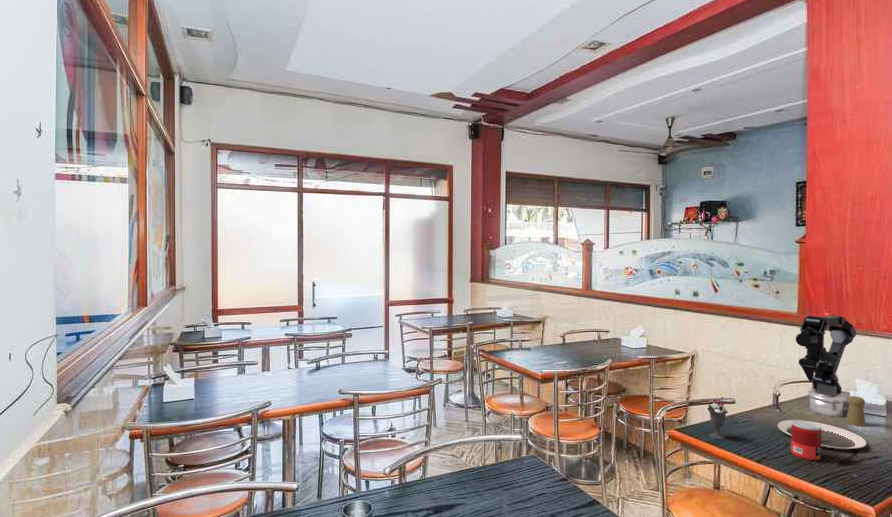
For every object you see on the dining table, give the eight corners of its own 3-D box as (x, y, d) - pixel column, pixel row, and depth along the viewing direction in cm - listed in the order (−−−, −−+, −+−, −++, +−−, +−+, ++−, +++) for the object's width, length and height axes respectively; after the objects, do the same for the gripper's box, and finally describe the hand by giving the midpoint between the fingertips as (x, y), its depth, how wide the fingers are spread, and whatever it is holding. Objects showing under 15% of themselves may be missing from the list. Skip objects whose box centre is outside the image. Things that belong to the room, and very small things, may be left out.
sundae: (729, 436, 170) (730, 397, 170) (725, 442, 165) (726, 401, 165) (709, 431, 174) (710, 393, 174) (704, 436, 169) (705, 397, 169)
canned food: (822, 463, 149) (823, 430, 149) (792, 457, 153) (793, 425, 153) (818, 454, 155) (819, 422, 155) (789, 449, 160) (790, 418, 159)
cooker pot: (815, 406, 204) (816, 391, 204) (846, 414, 195) (847, 398, 194) (805, 410, 198) (805, 395, 198) (836, 418, 189) (837, 403, 189)
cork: (870, 426, 181) (870, 399, 180) (854, 426, 181) (855, 399, 180) (856, 421, 187) (857, 394, 186) (841, 420, 187) (842, 394, 186)
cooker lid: (815, 391, 205) (815, 379, 205) (850, 399, 194) (851, 386, 194) (802, 395, 198) (802, 383, 198) (838, 404, 188) (839, 390, 188)
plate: (773, 438, 169) (773, 433, 169) (782, 420, 188) (782, 415, 188) (866, 460, 152) (866, 454, 152) (866, 437, 170) (866, 432, 170)
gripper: (830, 350, 189) (829, 387, 189) (845, 345, 199) (844, 380, 200) (798, 345, 198) (797, 381, 198) (814, 341, 209) (813, 374, 209)
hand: (814, 379), depth 201 cm, fingers open, 9 cm apart
